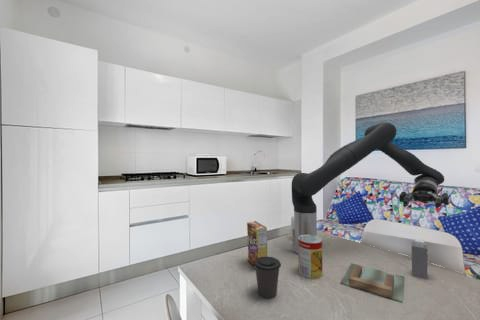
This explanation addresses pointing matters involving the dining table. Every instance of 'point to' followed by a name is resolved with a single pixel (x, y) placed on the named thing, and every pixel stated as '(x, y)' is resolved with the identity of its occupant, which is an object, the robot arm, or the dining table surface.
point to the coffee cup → (267, 276)
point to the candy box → (256, 241)
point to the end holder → (374, 281)
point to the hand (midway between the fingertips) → (421, 204)
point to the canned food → (310, 256)
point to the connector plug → (419, 259)
